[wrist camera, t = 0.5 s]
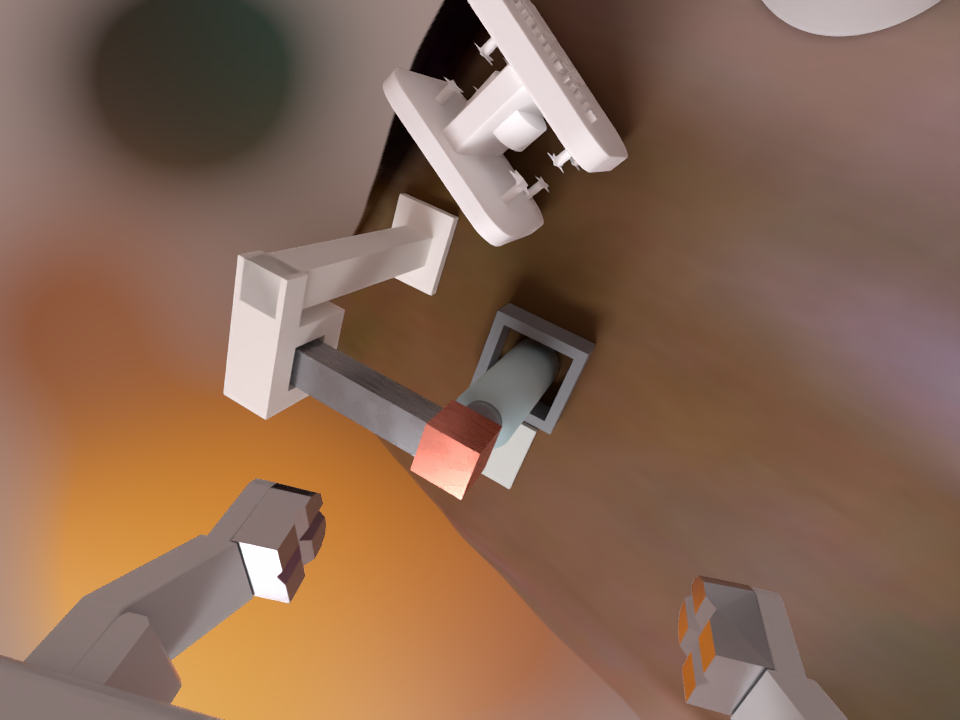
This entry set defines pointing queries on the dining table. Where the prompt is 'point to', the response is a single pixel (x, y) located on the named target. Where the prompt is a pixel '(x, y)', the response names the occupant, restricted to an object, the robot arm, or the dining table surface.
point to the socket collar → (548, 336)
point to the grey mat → (510, 456)
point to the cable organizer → (505, 121)
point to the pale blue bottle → (513, 386)
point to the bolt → (400, 416)
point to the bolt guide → (320, 297)
